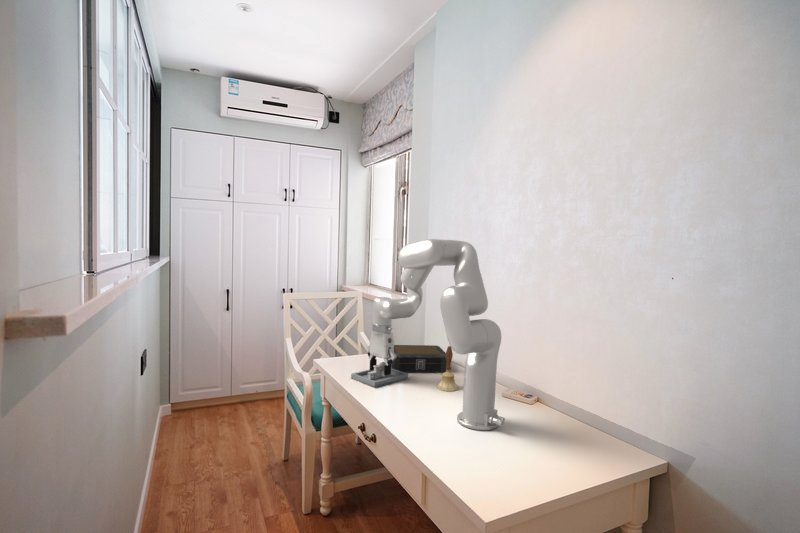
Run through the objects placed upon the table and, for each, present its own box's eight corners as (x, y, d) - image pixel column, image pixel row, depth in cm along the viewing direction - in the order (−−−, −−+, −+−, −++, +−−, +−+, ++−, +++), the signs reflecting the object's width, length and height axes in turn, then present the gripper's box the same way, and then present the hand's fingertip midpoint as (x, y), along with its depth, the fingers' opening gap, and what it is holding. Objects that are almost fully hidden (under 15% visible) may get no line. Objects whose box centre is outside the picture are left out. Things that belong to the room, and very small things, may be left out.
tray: (408, 378, 168) (408, 373, 168) (374, 387, 155) (374, 382, 155) (384, 370, 178) (384, 365, 178) (351, 378, 165) (351, 373, 165)
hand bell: (462, 390, 157) (464, 348, 156) (442, 392, 153) (444, 349, 153) (451, 383, 164) (453, 343, 164) (432, 385, 161) (434, 344, 161)
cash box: (390, 374, 174) (391, 355, 174) (386, 360, 195) (386, 344, 194) (449, 374, 178) (450, 356, 178) (438, 361, 198) (439, 345, 198)
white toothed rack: (370, 380, 162) (370, 365, 161) (367, 379, 163) (367, 364, 163) (392, 374, 170) (392, 360, 170) (389, 373, 171) (389, 359, 171)
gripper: (404, 331, 162) (402, 375, 163) (374, 324, 175) (372, 365, 175) (390, 333, 157) (388, 379, 158) (360, 325, 169) (358, 368, 170)
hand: (380, 371), depth 166 cm, fingers open, 8 cm apart
